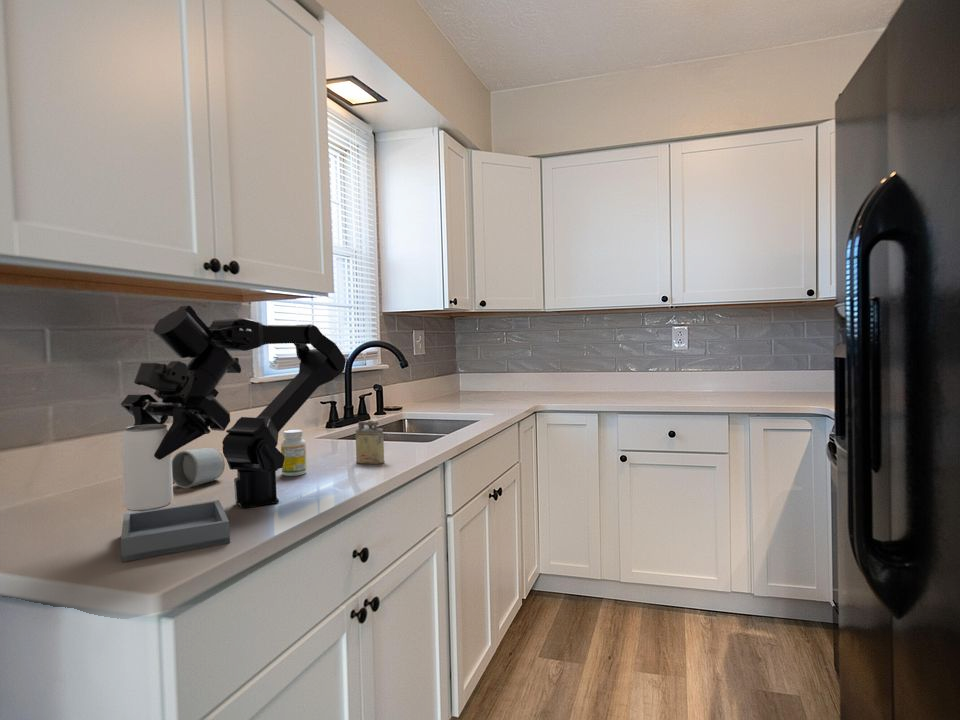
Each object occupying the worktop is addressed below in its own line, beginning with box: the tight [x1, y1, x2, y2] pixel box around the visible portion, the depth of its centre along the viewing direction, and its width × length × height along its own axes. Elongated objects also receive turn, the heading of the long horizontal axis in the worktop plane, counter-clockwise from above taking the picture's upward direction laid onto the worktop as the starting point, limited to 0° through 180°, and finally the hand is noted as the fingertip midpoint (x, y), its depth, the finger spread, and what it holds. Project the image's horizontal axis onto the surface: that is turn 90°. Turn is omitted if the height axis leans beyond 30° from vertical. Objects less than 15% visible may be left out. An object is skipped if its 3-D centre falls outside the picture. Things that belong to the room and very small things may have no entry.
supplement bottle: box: [280, 429, 308, 477], centre depth 130 cm, size 5×5×10 cm
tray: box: [120, 500, 231, 563], centre depth 88 cm, size 14×14×3 cm
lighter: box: [355, 420, 385, 465], centre depth 140 cm, size 7×4×10 cm, turn 74°
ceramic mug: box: [172, 447, 226, 489], centre depth 123 cm, size 11×8×8 cm
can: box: [121, 423, 174, 512], centre depth 88 cm, size 6×6×12 cm
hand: (142, 456), depth 87 cm, fingers closed on can, 6 cm apart
